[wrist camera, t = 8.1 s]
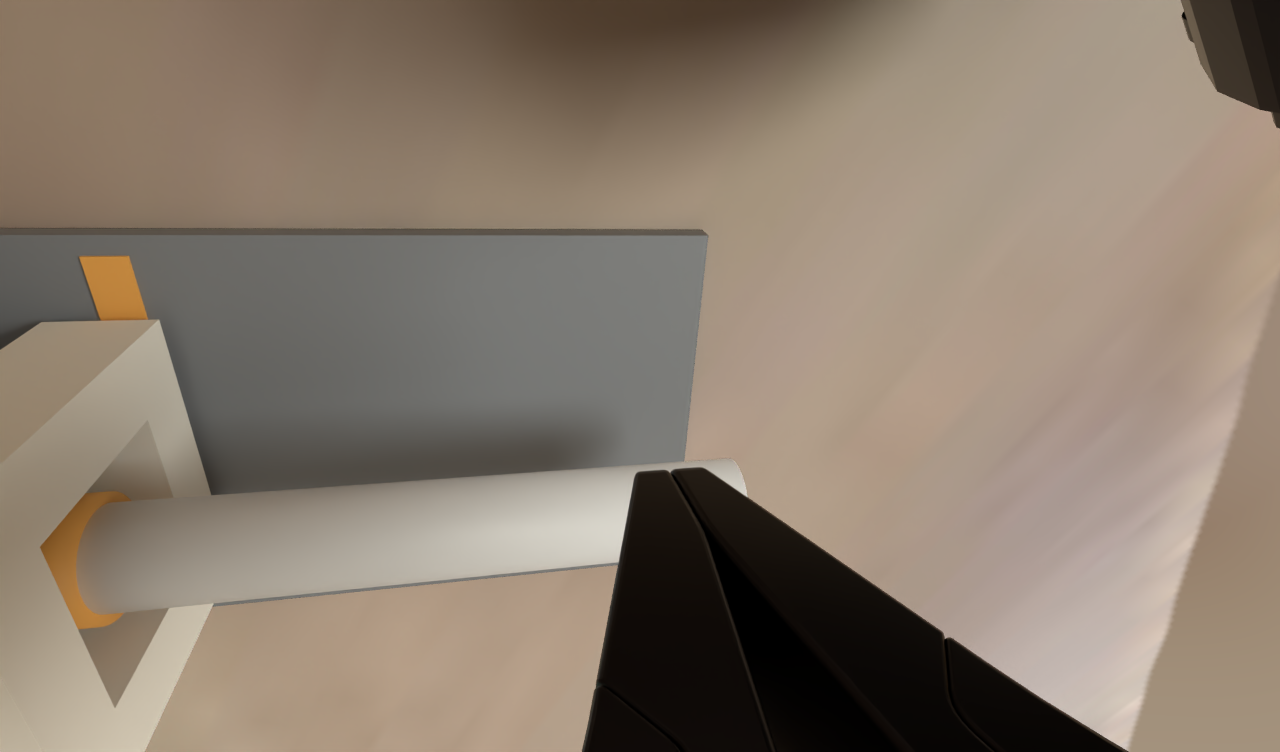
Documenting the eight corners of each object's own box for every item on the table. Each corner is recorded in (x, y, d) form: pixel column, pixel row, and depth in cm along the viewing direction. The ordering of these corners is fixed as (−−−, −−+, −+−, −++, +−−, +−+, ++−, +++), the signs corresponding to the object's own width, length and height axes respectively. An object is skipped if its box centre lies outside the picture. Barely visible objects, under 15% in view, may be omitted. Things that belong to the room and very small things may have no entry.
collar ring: (159, 319, 16) (-78, 536, 9) (231, 564, 20) (99, 849, 13) (41, 322, 16) (-301, 553, 9) (138, 573, 20) (-52, 874, 13)
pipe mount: (702, 229, 19) (824, 346, 12) (669, 548, 25) (741, 752, 18) (-367, 227, 14) (-1162, 419, 7) (-110, 624, 20) (-429, 948, 13)
